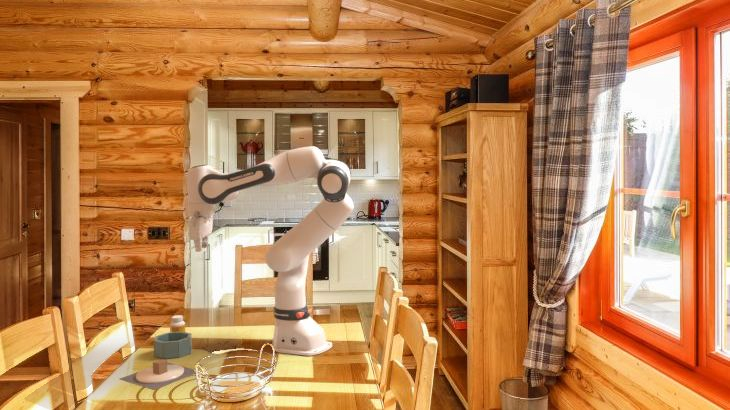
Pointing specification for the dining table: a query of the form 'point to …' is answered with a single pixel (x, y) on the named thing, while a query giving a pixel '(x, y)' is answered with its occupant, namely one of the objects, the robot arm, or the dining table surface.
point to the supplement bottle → (177, 324)
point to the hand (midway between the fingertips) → (201, 249)
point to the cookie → (222, 346)
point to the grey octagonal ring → (172, 345)
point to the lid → (159, 373)
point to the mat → (155, 386)
